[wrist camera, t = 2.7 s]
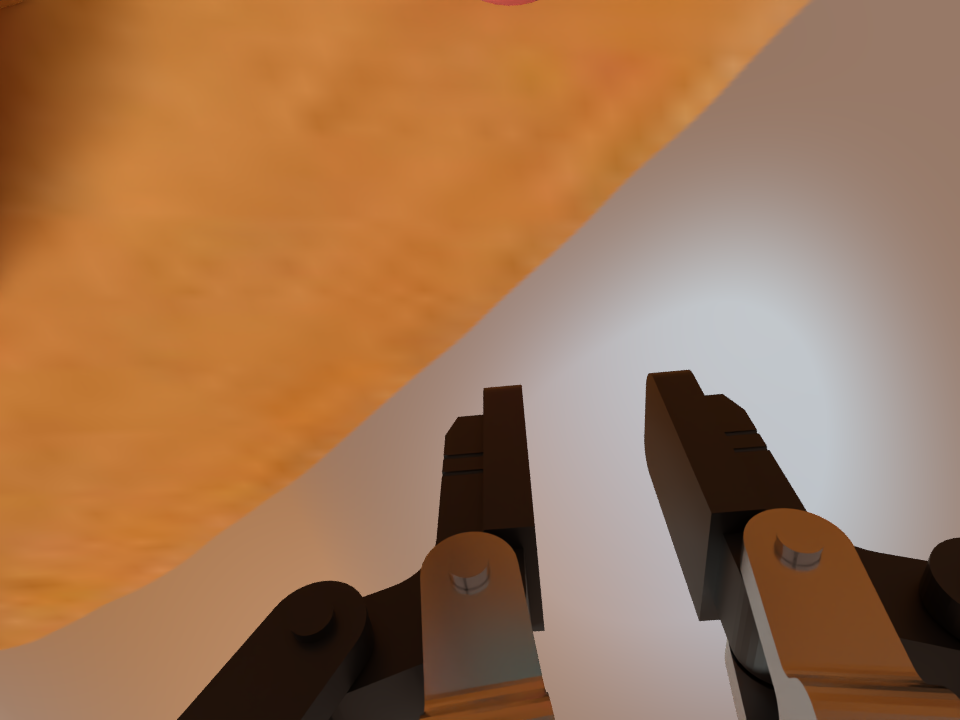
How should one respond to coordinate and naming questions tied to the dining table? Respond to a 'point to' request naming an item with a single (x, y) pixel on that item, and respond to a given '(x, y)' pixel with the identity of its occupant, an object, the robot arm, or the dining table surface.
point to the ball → (509, 2)
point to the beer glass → (8, 3)
